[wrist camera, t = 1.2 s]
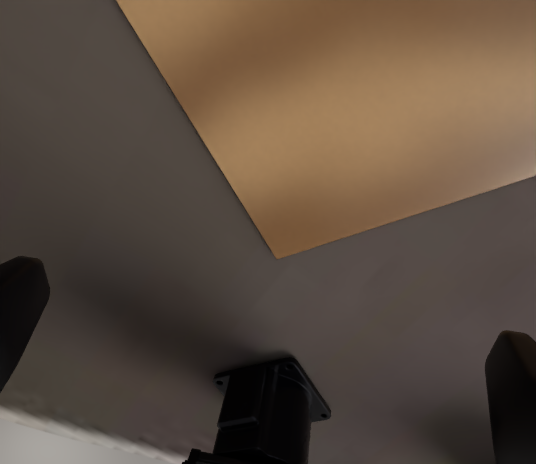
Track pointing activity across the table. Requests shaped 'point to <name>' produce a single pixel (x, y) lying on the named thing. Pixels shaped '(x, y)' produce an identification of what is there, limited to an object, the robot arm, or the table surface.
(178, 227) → the table surface
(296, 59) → the wooden board
